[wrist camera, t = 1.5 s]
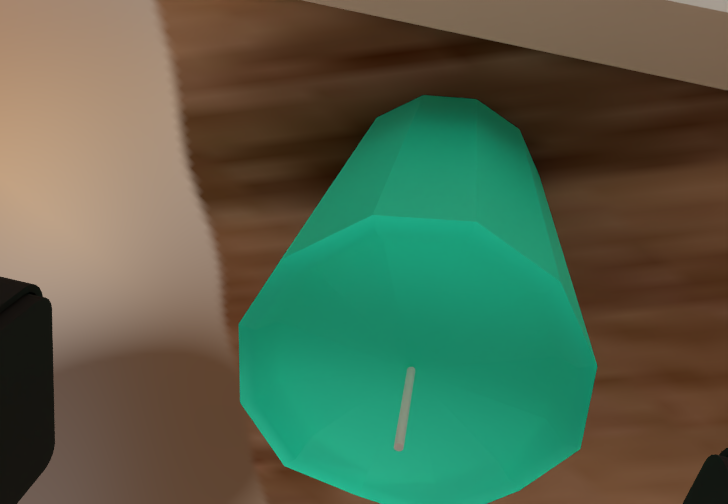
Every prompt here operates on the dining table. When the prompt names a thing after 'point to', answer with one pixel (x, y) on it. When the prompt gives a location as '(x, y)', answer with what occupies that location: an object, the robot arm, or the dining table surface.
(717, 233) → the dining table surface
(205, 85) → the dining table surface
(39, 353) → the robot arm
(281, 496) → the dining table surface
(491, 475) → the candle
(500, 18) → the jig board
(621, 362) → the dining table surface
